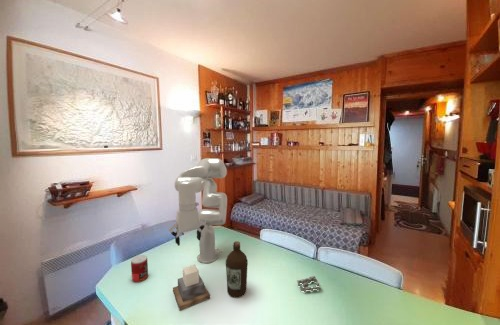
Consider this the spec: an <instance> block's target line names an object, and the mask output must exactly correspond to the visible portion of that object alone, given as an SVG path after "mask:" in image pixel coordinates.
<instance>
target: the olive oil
mask: <svg viewBox="0 0 500 325" xmlns="http://www.w3.org/2000/svg"><path fill="white" fill-rule="evenodd" d="M232 246H233V248H232V250H231V251H230V252H229V254H228V255H227V256H226V259H225V267H226V268H225V271H226V273H225V274H226V291H227V295H228V296H230V297H232V298H236V299H238V298H241V297H243V296H245V294H246V293H247V287H248V286H247V285H248V284H247V282H248V281H247V280H248V265H249V264H248V263H249V262H248V258H247V255H246V253H244V251H242V250H241V242H240V241H237V240H236V241H233V245H232Z"/></svg>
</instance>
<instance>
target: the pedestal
mask: <svg viewBox="0 0 500 325" xmlns="http://www.w3.org/2000/svg"><path fill="white" fill-rule="evenodd" d="M172 293H173V296H174V299H175V301H176V304H177V307H178V310H179V311H180V312H181V311H183V310H185V309H188V308H190V307H193V306H195V305H198V304H201V303H202V302H205V301H208V300H210V299H211V294H210V292H209V290H208V288H207V287H206V285H205V282H204V281H203V279H202V277H201V275H200V274H199V283H197V284H194V285H191V286H188V287H186V286H185V283H184V281H183V276H182V277H180V278H177V285H176V286H173V287H172Z"/></svg>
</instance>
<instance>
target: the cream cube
mask: <svg viewBox="0 0 500 325" xmlns="http://www.w3.org/2000/svg"><path fill="white" fill-rule="evenodd" d="M199 275H200V272H199V268H198V267H197V266H196V264H191V265H188V266H185V267H182V277H183V281H184V283H185V286H186V287H188V286H191V285H194V284H197V283H199Z"/></svg>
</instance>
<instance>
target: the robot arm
mask: <svg viewBox="0 0 500 325" xmlns="http://www.w3.org/2000/svg"><path fill="white" fill-rule="evenodd" d="M227 174H228V170H227V166H226V165H225V163H224V161H223V160H222V159H221V158H214V157H213V158H211V157H210V158H203V159H201V160H200V161H199V162H198V164H196V166H195V167H192V168H189V169H186V170H183V172H181V173H180V174H178V176H177V177H176V179H175V181H174V189H175V191H177V193H178V209H177V210H176V216H175V220H176V221H175V223H174V224H173V225H171V226H170V227H168V231H169V232H170V234H171V235H172V236H174V237H175V238H174V239H175V241H174V242H175V244H177V246H180V245H181V242H180V241H181V239H180V235H181V234H182V233H186V232H192V231H196V239H197V240H198V241H199V242H198V243H199V254H198V255H197V258H196V259H197V261H198V262H199V263H201V264H211V263H214V262H216V260H217V259H218V254H220V253H223V249H222V248H221V249H219V248H216V241H215V240H216V232H215V228H214V226H222V225H224V224H226V219H227V209H228V196H227V194H226V193H224V192H217V189H218V185H217V183H216V181H215V180H214V179H224V178H226V176H227ZM200 192H202V199H201V200H202V201H201V203H202V204H201V205H202V207H204V208H202V209H200V210H199V209H198V208H197V206H199V205H200V202H197V200H196V198H197V197H196V194H198V193H200ZM205 207H206V208H205ZM216 208H217V209H216ZM175 229H176V231H174V230H175Z"/></svg>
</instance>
